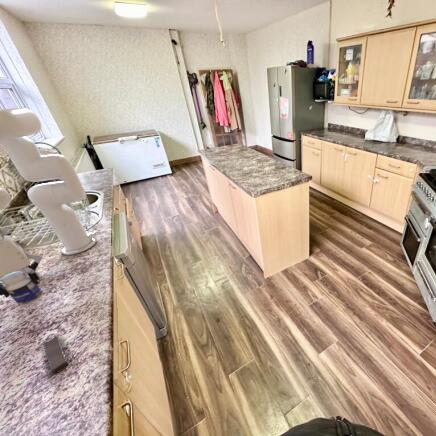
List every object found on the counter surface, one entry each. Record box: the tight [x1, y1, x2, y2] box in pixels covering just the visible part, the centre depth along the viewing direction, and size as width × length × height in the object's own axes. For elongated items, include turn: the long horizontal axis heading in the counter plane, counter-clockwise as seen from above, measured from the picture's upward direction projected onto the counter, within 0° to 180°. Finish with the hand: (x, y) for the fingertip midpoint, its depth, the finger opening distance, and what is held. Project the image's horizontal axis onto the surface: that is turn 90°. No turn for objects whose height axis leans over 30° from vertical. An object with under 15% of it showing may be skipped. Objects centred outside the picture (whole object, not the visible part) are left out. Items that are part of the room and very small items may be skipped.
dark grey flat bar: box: [43, 335, 69, 374], centre depth 63 cm, size 12×3×1 cm, turn 51°
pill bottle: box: [0, 271, 44, 307], centre depth 72 cm, size 6×6×10 cm
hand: (22, 288), depth 72 cm, fingers closed on pill bottle, 5 cm apart
